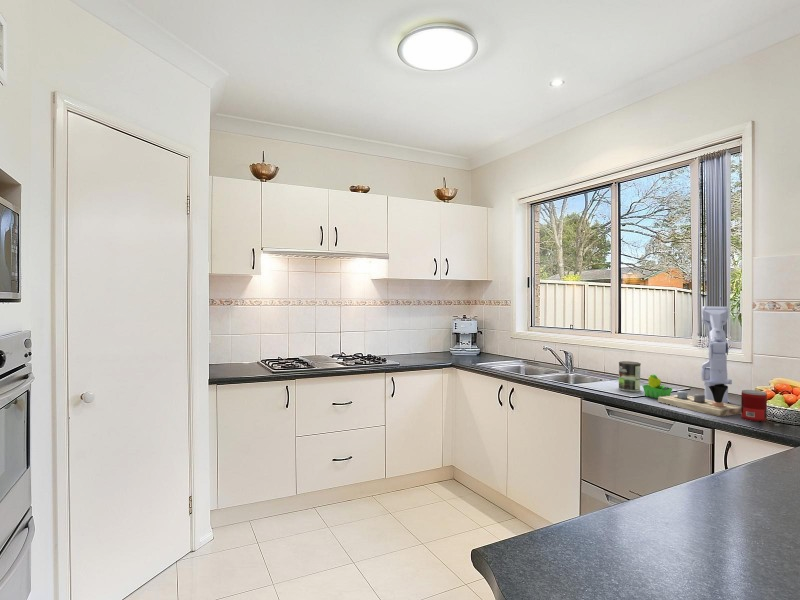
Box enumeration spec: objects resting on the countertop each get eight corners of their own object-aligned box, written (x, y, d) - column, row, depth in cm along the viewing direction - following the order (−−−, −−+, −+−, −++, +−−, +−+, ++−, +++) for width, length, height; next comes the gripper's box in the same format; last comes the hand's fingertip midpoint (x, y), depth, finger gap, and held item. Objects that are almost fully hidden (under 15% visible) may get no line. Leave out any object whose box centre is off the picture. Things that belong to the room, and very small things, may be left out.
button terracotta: (716, 409, 202) (716, 400, 202) (725, 411, 198) (725, 402, 198) (710, 409, 201) (710, 401, 201) (719, 412, 197) (719, 403, 197)
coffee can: (625, 391, 241) (626, 364, 241) (614, 387, 251) (614, 361, 251) (644, 391, 242) (645, 363, 242) (632, 387, 252) (633, 361, 252)
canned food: (770, 422, 182) (771, 394, 182) (747, 421, 184) (747, 393, 184) (759, 417, 190) (760, 390, 190) (737, 416, 191) (737, 389, 191)
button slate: (681, 398, 217) (681, 390, 217) (689, 400, 213) (689, 392, 213) (675, 399, 215) (675, 391, 215) (683, 400, 212) (683, 392, 212)
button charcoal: (698, 401, 209) (698, 393, 209) (707, 403, 206) (707, 395, 206) (692, 402, 208) (692, 394, 208) (700, 404, 204) (701, 396, 204)
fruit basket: (673, 399, 224) (673, 375, 224) (661, 400, 220) (661, 376, 220) (651, 394, 235) (651, 371, 235) (639, 396, 231) (639, 372, 231)
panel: (682, 399, 223) (682, 394, 223) (745, 413, 197) (745, 407, 197) (657, 402, 217) (658, 396, 217) (719, 416, 191) (719, 410, 191)
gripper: (716, 372, 193) (716, 405, 193) (739, 370, 199) (739, 402, 199) (699, 369, 199) (699, 402, 199) (722, 368, 205) (721, 399, 205)
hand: (718, 402), depth 199 cm, fingers closed, pressing on button terracotta
